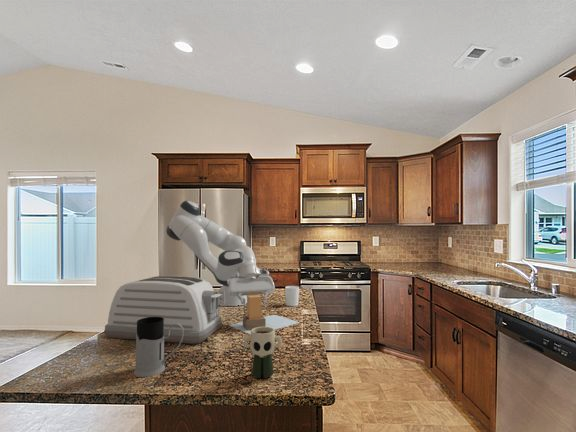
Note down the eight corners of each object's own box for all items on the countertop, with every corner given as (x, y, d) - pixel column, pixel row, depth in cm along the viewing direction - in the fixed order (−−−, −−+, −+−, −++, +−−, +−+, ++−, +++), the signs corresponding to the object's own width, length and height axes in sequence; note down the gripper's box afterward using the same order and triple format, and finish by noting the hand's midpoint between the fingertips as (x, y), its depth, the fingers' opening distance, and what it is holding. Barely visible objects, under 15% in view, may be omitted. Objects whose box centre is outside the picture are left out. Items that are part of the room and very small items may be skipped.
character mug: (242, 381, 90) (242, 334, 91) (245, 370, 97) (245, 326, 98) (281, 380, 90) (281, 333, 91) (281, 369, 97) (281, 326, 98)
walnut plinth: (242, 325, 140) (242, 315, 140) (260, 323, 142) (260, 314, 143) (246, 330, 132) (246, 320, 132) (265, 328, 135) (265, 318, 135)
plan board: (228, 327, 139) (228, 325, 139) (274, 316, 157) (274, 314, 157) (253, 338, 126) (253, 335, 126) (300, 324, 143) (300, 322, 143)
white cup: (293, 307, 176) (293, 288, 176) (282, 305, 180) (282, 287, 181) (302, 304, 182) (301, 286, 182) (290, 302, 187) (290, 285, 187)
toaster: (205, 347, 117) (206, 284, 118) (99, 338, 126) (100, 281, 127) (229, 328, 139) (229, 276, 140) (137, 322, 148) (138, 273, 149)
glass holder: (140, 364, 101) (141, 316, 102) (186, 363, 102) (187, 315, 103) (128, 377, 93) (129, 324, 93) (179, 375, 94) (179, 323, 94)
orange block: (247, 316, 139) (247, 295, 139) (258, 315, 141) (258, 294, 141) (249, 319, 134) (249, 297, 135) (261, 318, 136) (261, 296, 136)
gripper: (227, 272, 141) (230, 299, 132) (272, 270, 148) (278, 296, 139) (225, 281, 145) (229, 308, 136) (269, 279, 152) (275, 304, 143)
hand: (254, 302), depth 137 cm, fingers open, 8 cm apart
